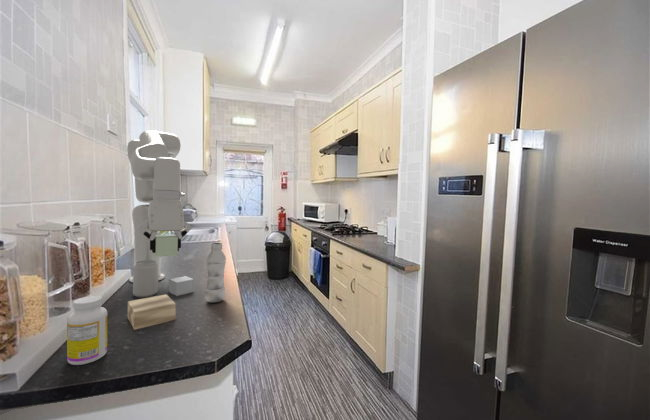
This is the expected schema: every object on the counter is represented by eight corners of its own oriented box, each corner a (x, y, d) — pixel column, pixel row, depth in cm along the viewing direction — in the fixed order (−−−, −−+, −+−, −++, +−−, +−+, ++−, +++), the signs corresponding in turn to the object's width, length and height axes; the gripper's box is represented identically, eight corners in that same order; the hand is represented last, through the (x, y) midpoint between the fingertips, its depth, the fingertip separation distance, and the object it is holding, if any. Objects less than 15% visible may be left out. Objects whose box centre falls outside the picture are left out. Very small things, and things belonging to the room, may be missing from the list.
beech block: (127, 318, 81) (127, 301, 81) (165, 309, 88) (166, 294, 87) (134, 330, 73) (134, 312, 73) (175, 320, 80) (175, 303, 80)
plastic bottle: (225, 297, 100) (226, 242, 99) (224, 304, 93) (226, 245, 93) (206, 298, 98) (207, 242, 97) (203, 305, 91) (205, 245, 91)
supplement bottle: (88, 348, 64) (89, 293, 64) (114, 350, 63) (115, 295, 63) (57, 365, 57) (58, 303, 57) (86, 368, 57) (87, 306, 56)
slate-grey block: (168, 292, 103) (169, 279, 103) (185, 288, 108) (185, 275, 108) (176, 296, 99) (176, 282, 99) (193, 292, 104) (193, 279, 104)
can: (137, 299, 94) (138, 264, 94) (129, 294, 99) (129, 261, 98) (161, 294, 100) (161, 261, 100) (152, 289, 105) (153, 258, 104)
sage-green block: (153, 253, 91) (154, 235, 91) (174, 252, 95) (174, 234, 95) (156, 256, 87) (156, 237, 86) (177, 255, 90) (177, 236, 90)
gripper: (192, 197, 98) (191, 247, 99) (133, 195, 88) (133, 251, 89) (197, 197, 92) (196, 251, 93) (135, 195, 82) (134, 255, 83)
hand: (165, 250), depth 91 cm, fingers closed on sage-green block, 6 cm apart
